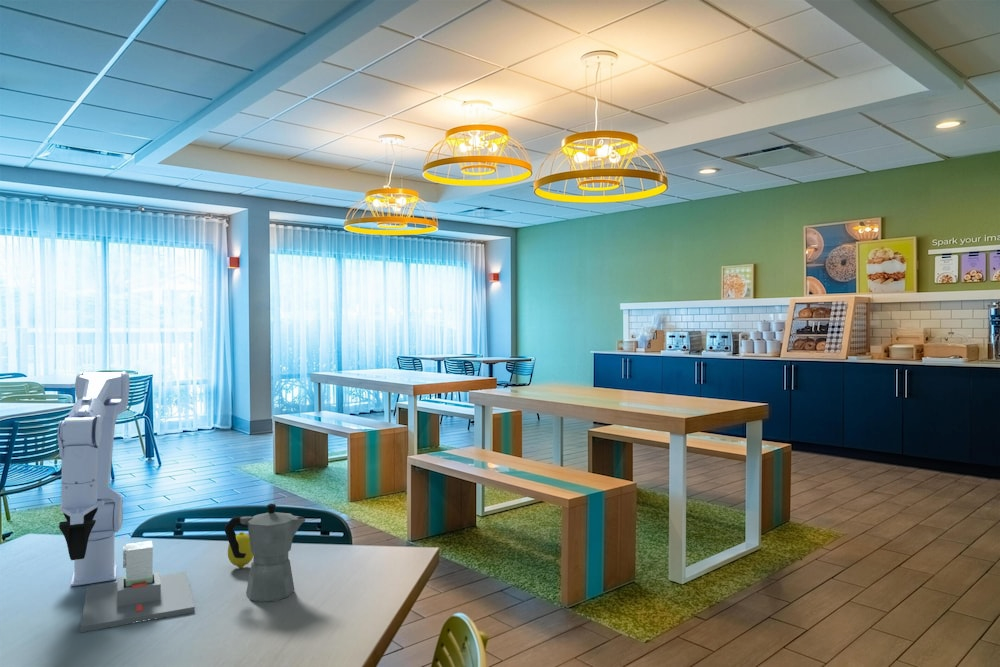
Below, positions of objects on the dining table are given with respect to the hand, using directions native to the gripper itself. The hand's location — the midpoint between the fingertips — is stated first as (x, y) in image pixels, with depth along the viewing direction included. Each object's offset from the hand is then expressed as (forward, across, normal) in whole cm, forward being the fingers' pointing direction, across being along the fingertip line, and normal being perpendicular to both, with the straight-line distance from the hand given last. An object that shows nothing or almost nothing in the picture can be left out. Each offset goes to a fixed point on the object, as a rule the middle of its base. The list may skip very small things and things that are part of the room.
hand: (78, 552), depth 125 cm
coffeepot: (+11, -9, -32) cm, 35 cm away
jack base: (+10, -2, -10) cm, 15 cm away
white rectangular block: (+6, -2, -10) cm, 12 cm away
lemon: (+11, +8, -30) cm, 33 cm away
